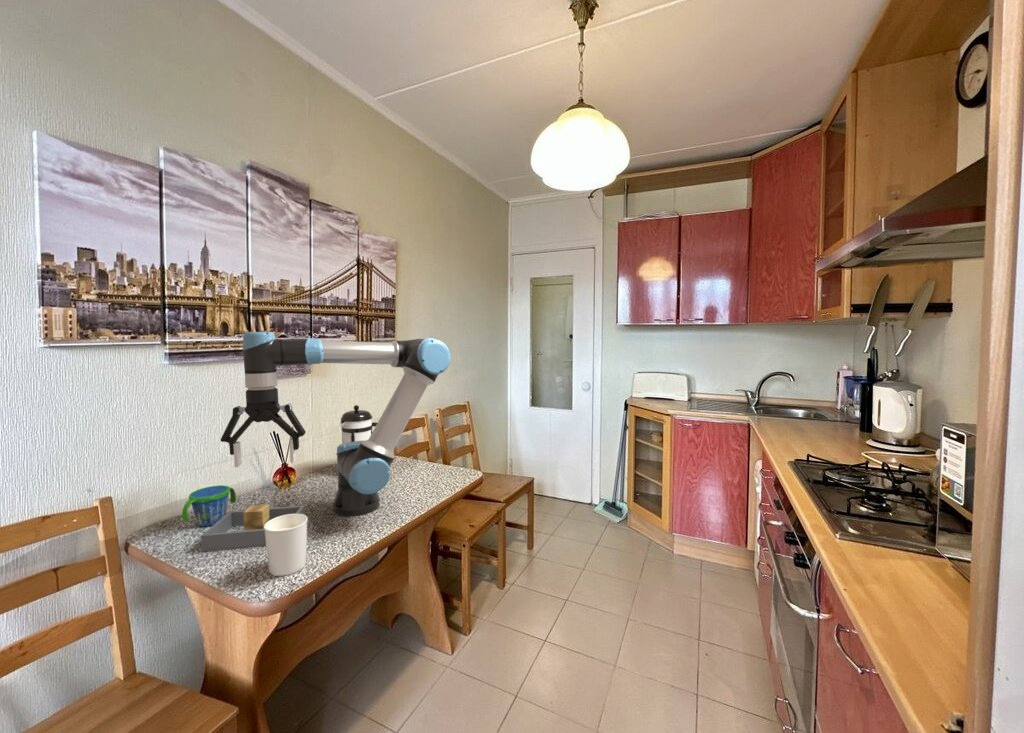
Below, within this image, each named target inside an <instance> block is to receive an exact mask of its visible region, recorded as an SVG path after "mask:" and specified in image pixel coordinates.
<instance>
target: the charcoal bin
mask: <svg viewBox="0 0 1024 733" xmlns="http://www.w3.org/2000/svg"><path fill="white" fill-rule="evenodd" d="M246 510H247V509H245V510H235V511H234V510H231V511H227V514H226V515H225V516H223V517H222V518H221V519H220V520H219V521H218V522H216V523H215V524H214V525H211V527H210V528H208V529H207V530H206V531H205V532H204V533H203V534H202V535H200V542H201V545H200V546H201V547H200V548H201V552H202V551H204V552H215V551H221V550H222V551H223V550H234V549H235V550H236V549H244V548H245V549H246V548H253V547H254V548H255V547H262V546H263V547H264V546H265V547H266V541H265V532H264V529H256V530H245V531H244V530H237V531H236V530H235V531H229V530H230V529H231V528H232V527H241V526H243V527H244V512H245V511H246ZM287 514H303V515H306V504H305V505H295V506H281V507H280V506H279V507H269V516H270V520H271V519H274V518H276V517H279V516H283V515H287Z"/></svg>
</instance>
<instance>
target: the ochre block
mask: <svg viewBox="0 0 1024 733" xmlns="http://www.w3.org/2000/svg"><path fill="white" fill-rule="evenodd" d="M269 508H270V504H267V503H266V504H256V505H255V504H254V505H250V506H249V507H248V508H246V509H245V510H246V511H245V512H244V526H243V527H244V530H243V531H245V530H256V529H264V525H265V524H266V523H267V522H268V521H270V516H269Z"/></svg>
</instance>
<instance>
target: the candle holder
mask: <svg viewBox="0 0 1024 733" xmlns="http://www.w3.org/2000/svg"><path fill="white" fill-rule="evenodd" d="M308 518H309V517H308V516H307V515H306V514H305V515H303V514H287V515H283V516H279V517H276V518H274V519H271V520H270V521H268V522H267V523H266V524H265V525H264V532H265V541H266V546H265V548H266V557H267V564H268V571H269V574H270V575H272V576H274V577H282V576H283V577H284V576H288V575H292V574H294V573H297V572H299V571H300V570H302V569H303V568H304V567H305V565H307V550H308V548H307V546H308V543H307V541H308Z"/></svg>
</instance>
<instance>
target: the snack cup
mask: <svg viewBox="0 0 1024 733" xmlns="http://www.w3.org/2000/svg"><path fill="white" fill-rule="evenodd" d="M229 496H230V498H229ZM229 502H230V503H231V504H235V503H236V502H237V494H236V491H235V489H234V488H233V487H230V486H228V485H223V484H222V485H212V486H206V487H202V488H198V489H196V490H195V491H192V492H190V493H189V495H188V500H187V501H186V502H185V504H184V505H183V508H182V512H181V517H182V520H183V521H184V522H186V523H189V522H190V518H189V513H188V510H189V508H190V507H191V506H192V510H193V515H194V518H195V519H194V520H195V522H196V524H197V525H198V526H199V527H210V525H211V526H213V525H214V524H215V523H216V522H218V521H219V520H220V519H221V518H222V517H223V516H225V515H226V514H227V513H228V504H229Z"/></svg>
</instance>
